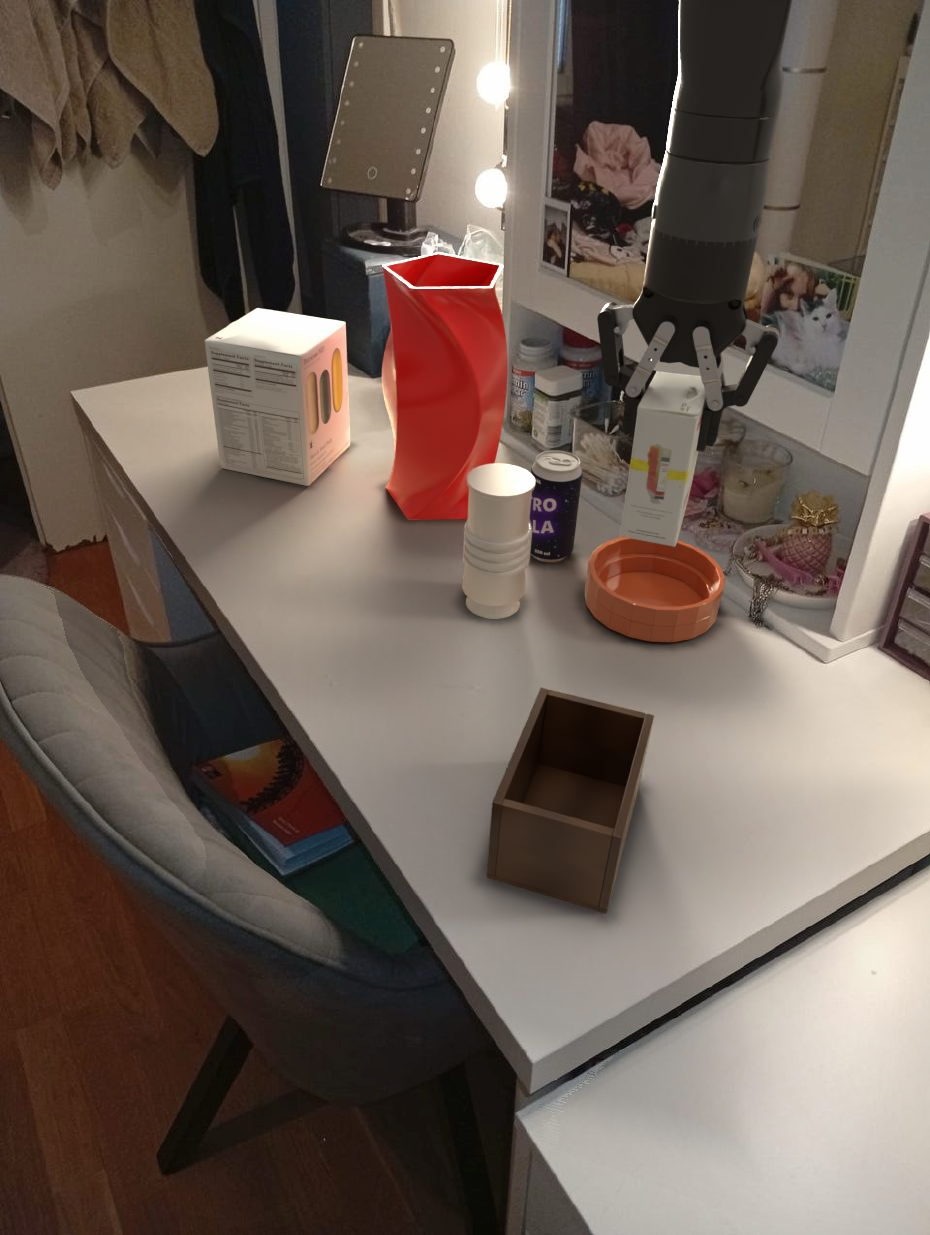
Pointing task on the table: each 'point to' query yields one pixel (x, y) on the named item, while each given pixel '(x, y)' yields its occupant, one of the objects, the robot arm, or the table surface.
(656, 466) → the ink box
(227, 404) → the supplement box
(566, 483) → the beverage can
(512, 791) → the holder
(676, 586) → the bowl
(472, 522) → the white ribbed cup
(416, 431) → the vase
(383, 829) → the table surface
